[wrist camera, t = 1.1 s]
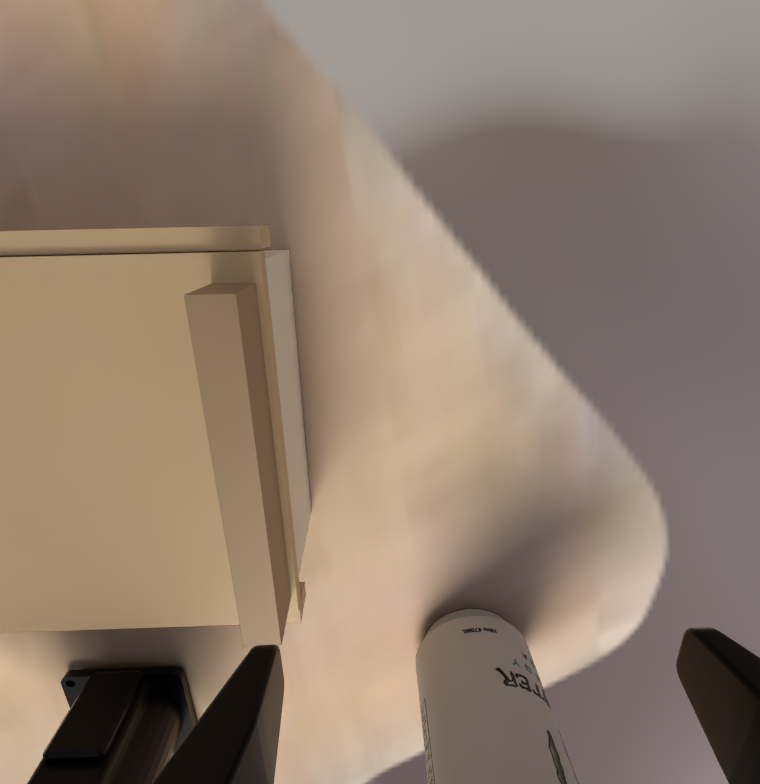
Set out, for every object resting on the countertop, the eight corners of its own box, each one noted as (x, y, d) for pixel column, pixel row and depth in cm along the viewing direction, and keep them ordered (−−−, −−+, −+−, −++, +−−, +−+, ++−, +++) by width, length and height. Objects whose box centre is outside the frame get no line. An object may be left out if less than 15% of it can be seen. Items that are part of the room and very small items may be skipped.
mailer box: (311, 510, 22) (296, 588, 17) (16, 519, 22) (-79, 601, 17) (288, 249, 18) (260, 260, 13) (-77, 257, 18) (-238, 271, 13)
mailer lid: (305, 593, 18) (291, 677, 15) (-59, 606, 18) (-156, 694, 15) (269, 224, 13) (236, 227, 10) (-231, 235, 13) (-436, 241, 10)
